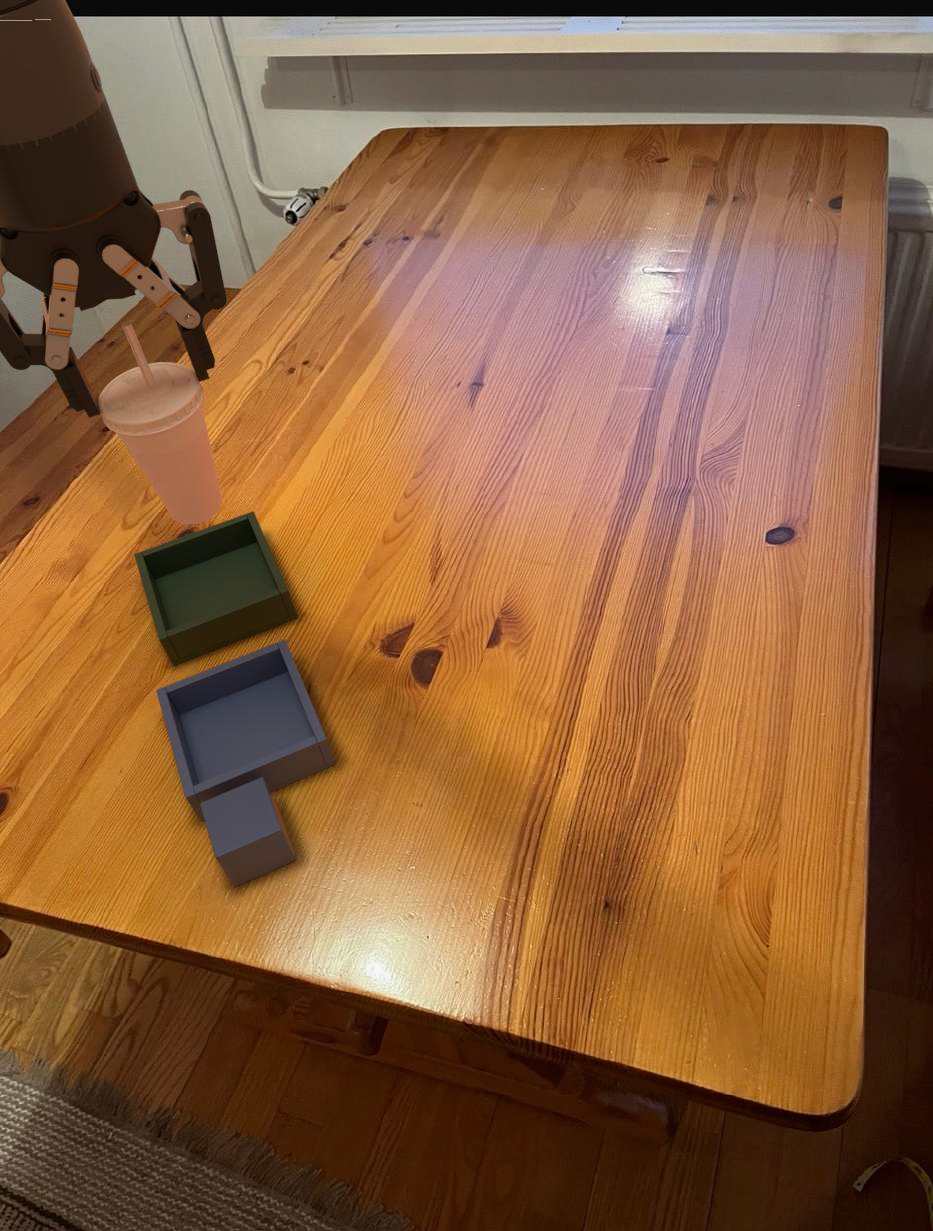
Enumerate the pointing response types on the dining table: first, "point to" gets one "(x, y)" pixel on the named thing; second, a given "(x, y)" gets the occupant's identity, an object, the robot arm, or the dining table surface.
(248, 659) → the blue bin
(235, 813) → the blue block
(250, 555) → the green bin
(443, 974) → the dining table surface
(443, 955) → the dining table surface
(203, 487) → the smoothie
